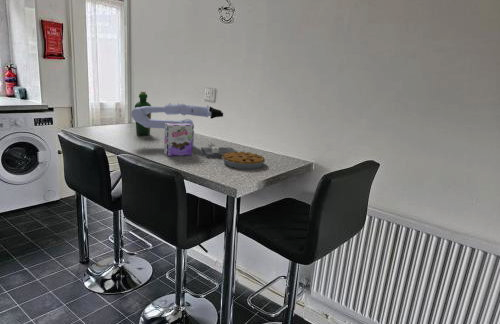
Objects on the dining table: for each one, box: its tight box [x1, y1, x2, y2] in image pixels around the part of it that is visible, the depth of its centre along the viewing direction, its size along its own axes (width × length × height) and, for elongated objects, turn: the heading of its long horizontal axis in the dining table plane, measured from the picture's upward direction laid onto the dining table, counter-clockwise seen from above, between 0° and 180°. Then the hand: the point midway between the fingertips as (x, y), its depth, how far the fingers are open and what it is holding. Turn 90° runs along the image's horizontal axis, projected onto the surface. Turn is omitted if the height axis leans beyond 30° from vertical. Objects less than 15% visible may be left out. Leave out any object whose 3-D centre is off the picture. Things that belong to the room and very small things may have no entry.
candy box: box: [163, 123, 194, 157], centre depth 179 cm, size 14×6×16 cm, turn 117°
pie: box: [221, 151, 266, 170], centre depth 173 cm, size 22×22×5 cm
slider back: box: [207, 142, 216, 149], centre depth 191 cm, size 3×4×3 cm
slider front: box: [211, 145, 219, 153], centre depth 183 cm, size 3×4×3 cm
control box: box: [200, 146, 238, 159], centre depth 189 cm, size 18×16×2 cm
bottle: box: [134, 91, 152, 137], centre depth 222 cm, size 11×11×28 cm
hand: (222, 113), depth 202 cm, fingers open, 7 cm apart
